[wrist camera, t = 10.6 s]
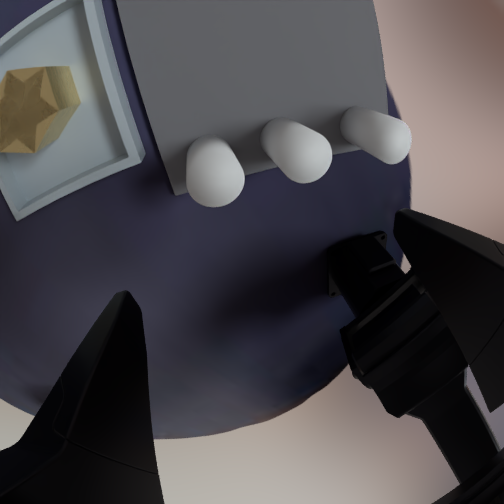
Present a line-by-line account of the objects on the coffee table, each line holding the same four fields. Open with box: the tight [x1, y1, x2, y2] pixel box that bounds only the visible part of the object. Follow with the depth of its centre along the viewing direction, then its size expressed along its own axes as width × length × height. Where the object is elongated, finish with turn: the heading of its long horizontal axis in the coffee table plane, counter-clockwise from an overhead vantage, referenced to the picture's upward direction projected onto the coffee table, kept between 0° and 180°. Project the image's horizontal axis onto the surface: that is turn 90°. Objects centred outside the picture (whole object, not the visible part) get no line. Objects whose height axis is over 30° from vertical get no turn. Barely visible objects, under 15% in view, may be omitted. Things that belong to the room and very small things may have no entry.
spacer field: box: [116, 0, 412, 207], centre depth 11 cm, size 20×17×5 cm
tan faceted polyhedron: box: [0, 66, 81, 153], centre depth 11 cm, size 6×5×4 cm
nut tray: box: [0, 0, 146, 221], centre depth 12 cm, size 13×11×2 cm
